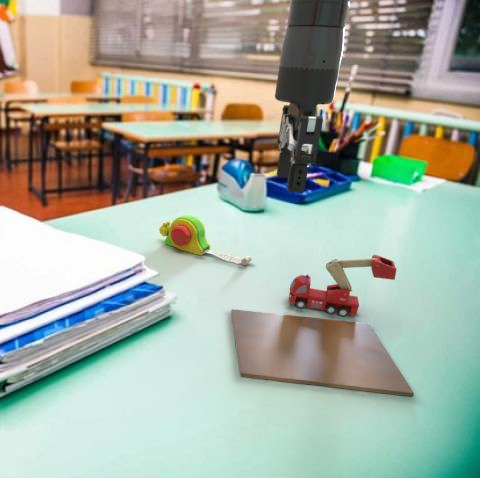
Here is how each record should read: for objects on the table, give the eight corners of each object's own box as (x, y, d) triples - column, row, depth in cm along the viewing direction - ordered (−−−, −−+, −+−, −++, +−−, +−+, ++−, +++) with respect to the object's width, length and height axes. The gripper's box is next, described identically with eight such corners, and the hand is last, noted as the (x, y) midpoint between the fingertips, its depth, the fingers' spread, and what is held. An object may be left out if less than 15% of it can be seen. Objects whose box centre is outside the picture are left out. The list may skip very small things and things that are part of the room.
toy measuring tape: (167, 235, 104) (169, 206, 102) (255, 260, 94) (260, 227, 92) (151, 244, 99) (153, 213, 97) (242, 271, 89) (247, 237, 87)
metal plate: (368, 326, 73) (369, 323, 72) (413, 396, 58) (414, 393, 58) (231, 311, 75) (231, 309, 75) (240, 376, 60) (241, 373, 60)
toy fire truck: (287, 296, 80) (298, 241, 77) (379, 314, 76) (395, 257, 73) (286, 305, 77) (297, 249, 74) (382, 324, 73) (398, 265, 70)
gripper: (355, 68, 58) (328, 200, 64) (325, 64, 71) (305, 174, 77) (289, 65, 59) (269, 196, 65) (271, 62, 72) (256, 171, 78)
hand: (289, 184), depth 71 cm, fingers open, 8 cm apart
